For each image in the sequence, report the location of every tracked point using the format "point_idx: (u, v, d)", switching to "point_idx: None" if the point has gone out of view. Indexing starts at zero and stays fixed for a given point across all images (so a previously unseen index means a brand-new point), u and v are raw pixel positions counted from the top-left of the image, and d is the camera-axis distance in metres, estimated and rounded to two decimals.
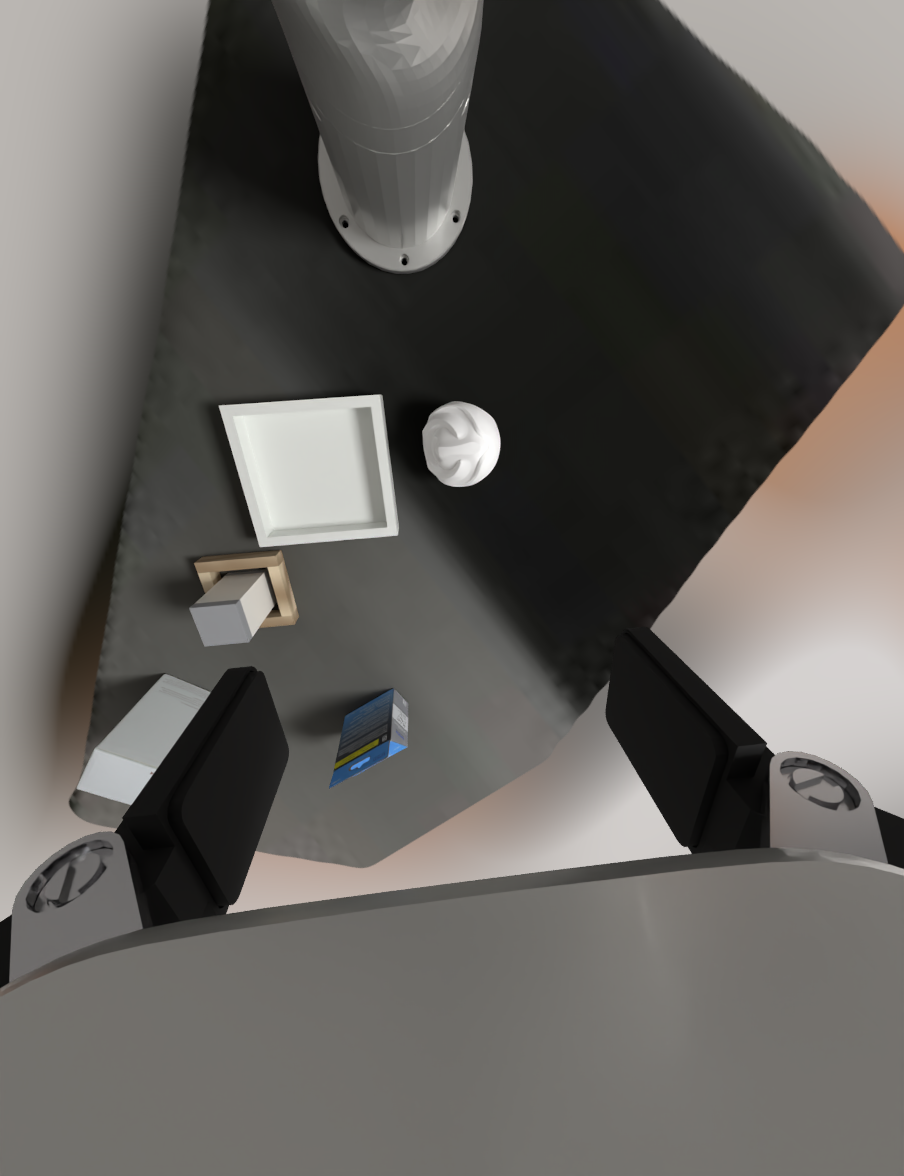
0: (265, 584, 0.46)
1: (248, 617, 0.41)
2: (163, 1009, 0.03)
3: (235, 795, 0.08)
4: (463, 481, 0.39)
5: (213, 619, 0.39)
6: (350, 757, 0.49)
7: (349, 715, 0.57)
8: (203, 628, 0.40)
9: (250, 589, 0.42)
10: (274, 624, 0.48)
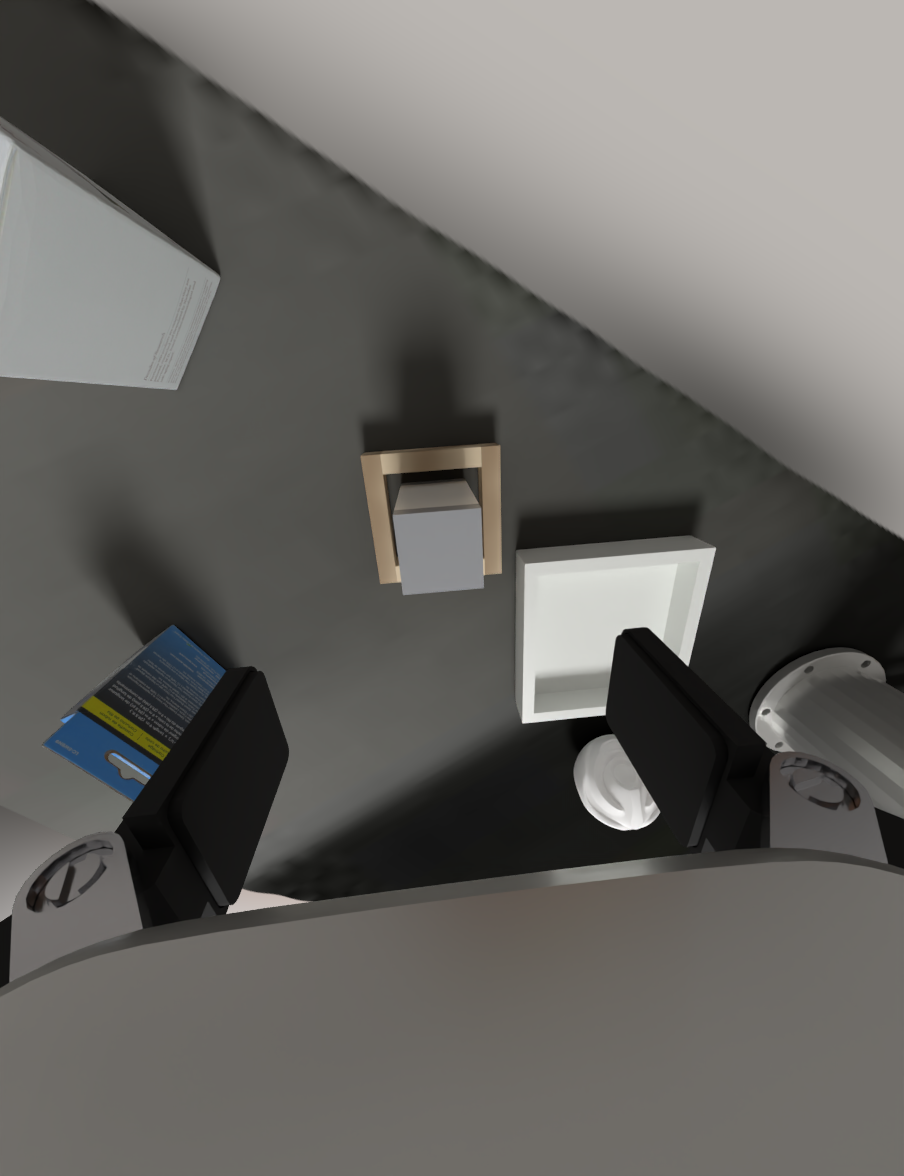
0: None
1: None
2: (163, 1009, 0.03)
3: (235, 795, 0.08)
4: (589, 798, 0.35)
5: (454, 545, 0.21)
6: (124, 726, 0.24)
7: (179, 636, 0.31)
8: (435, 522, 0.20)
9: None
10: (378, 553, 0.28)
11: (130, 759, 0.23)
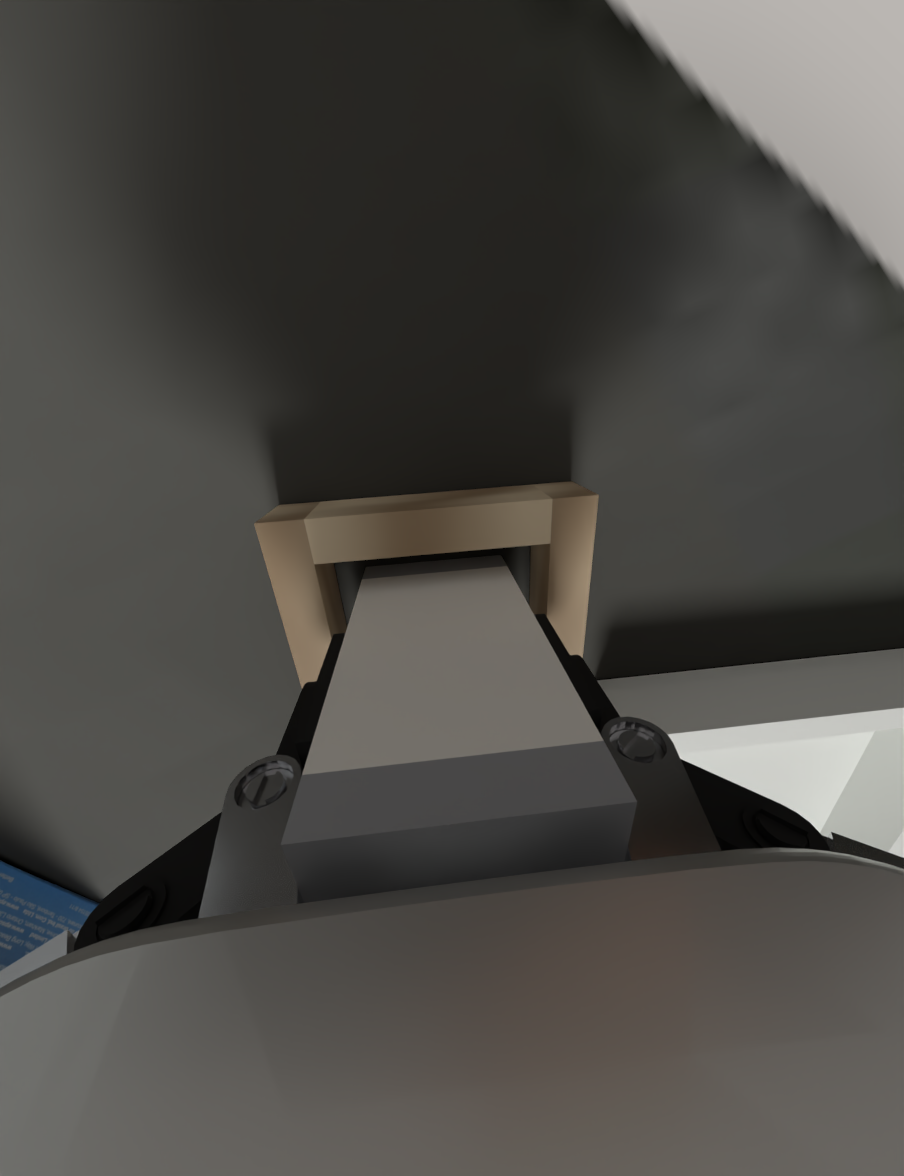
0: None
1: None
2: (163, 1009, 0.03)
3: None
4: None
5: None
6: None
7: None
8: (454, 852, 0.05)
9: None
10: None
11: None
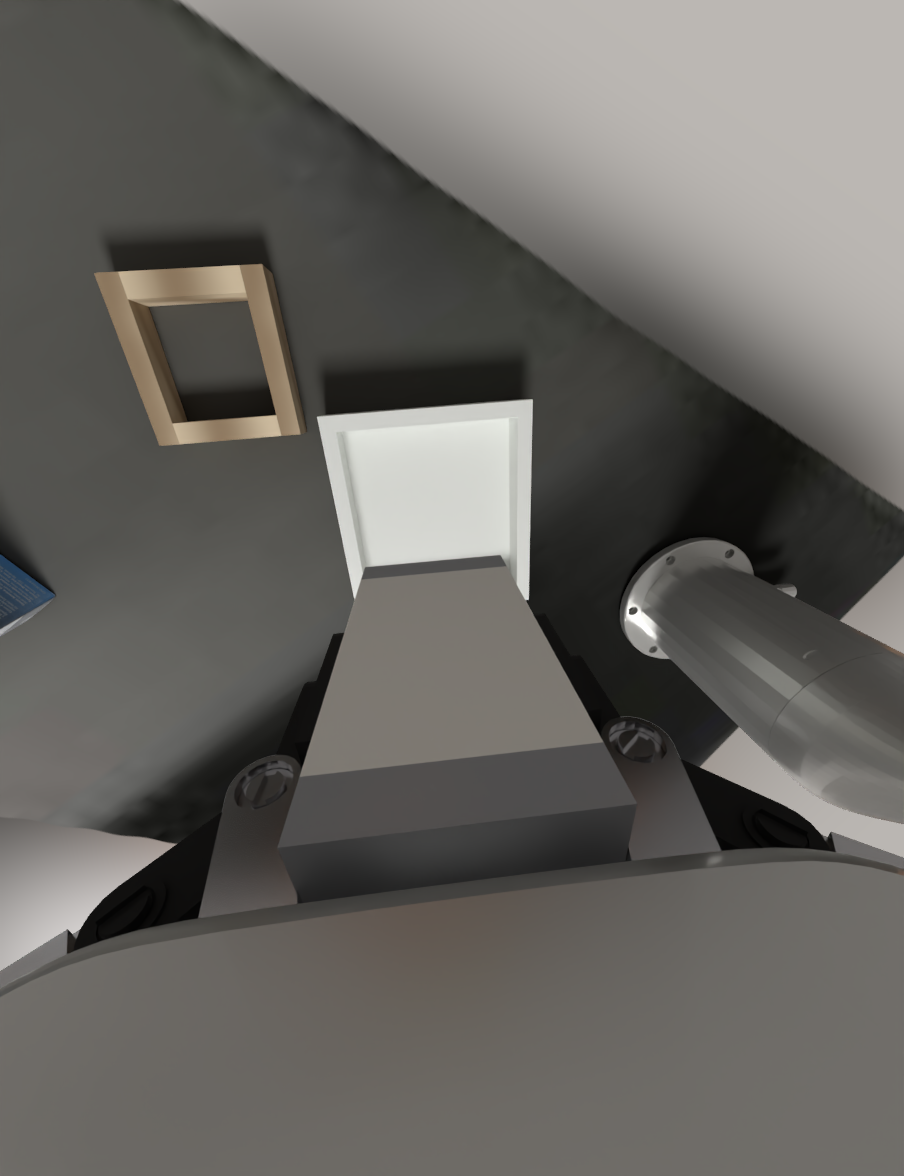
0: None
1: None
2: (163, 1009, 0.03)
3: None
4: None
5: None
6: None
7: None
8: (452, 855, 0.05)
9: None
10: (148, 406, 0.24)
11: None
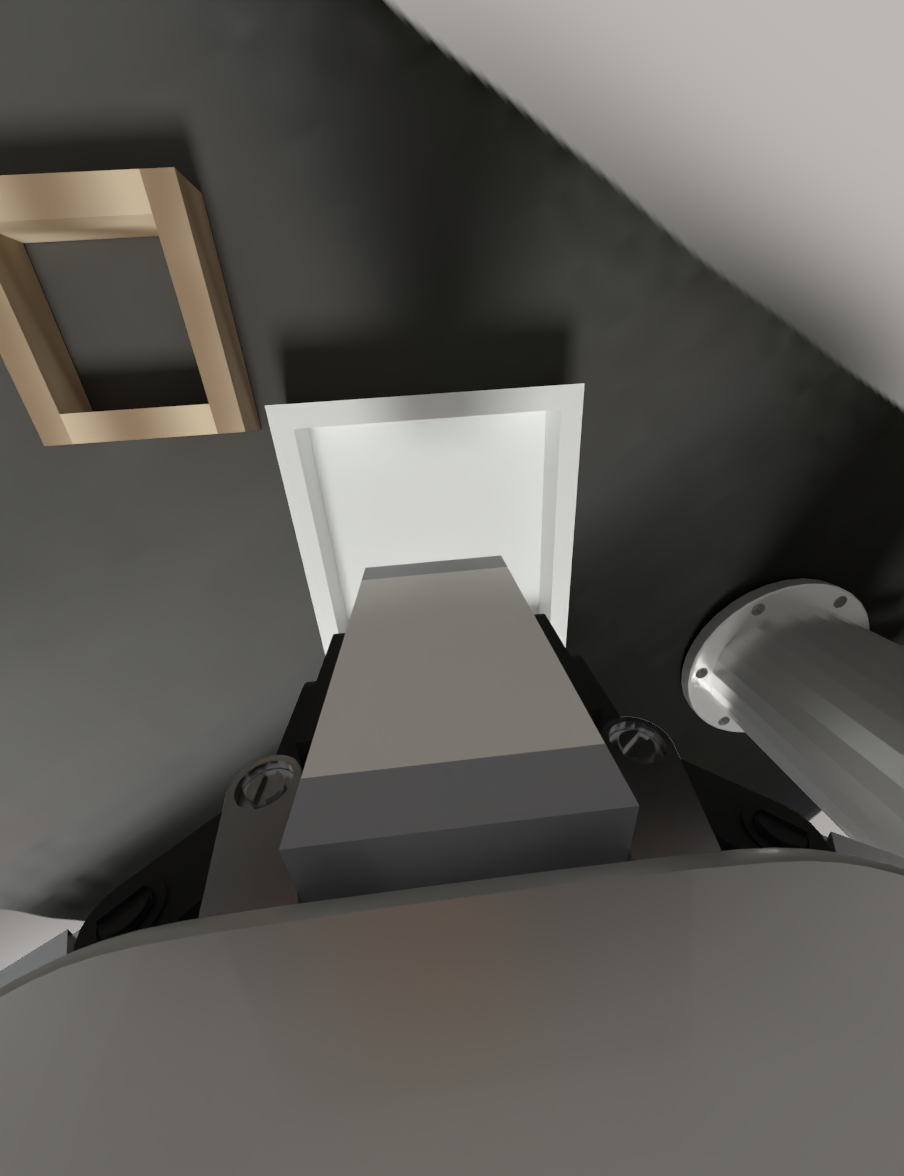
0: None
1: None
2: (163, 1009, 0.03)
3: None
4: None
5: None
6: None
7: None
8: (454, 856, 0.05)
9: None
10: (21, 388, 0.17)
11: None
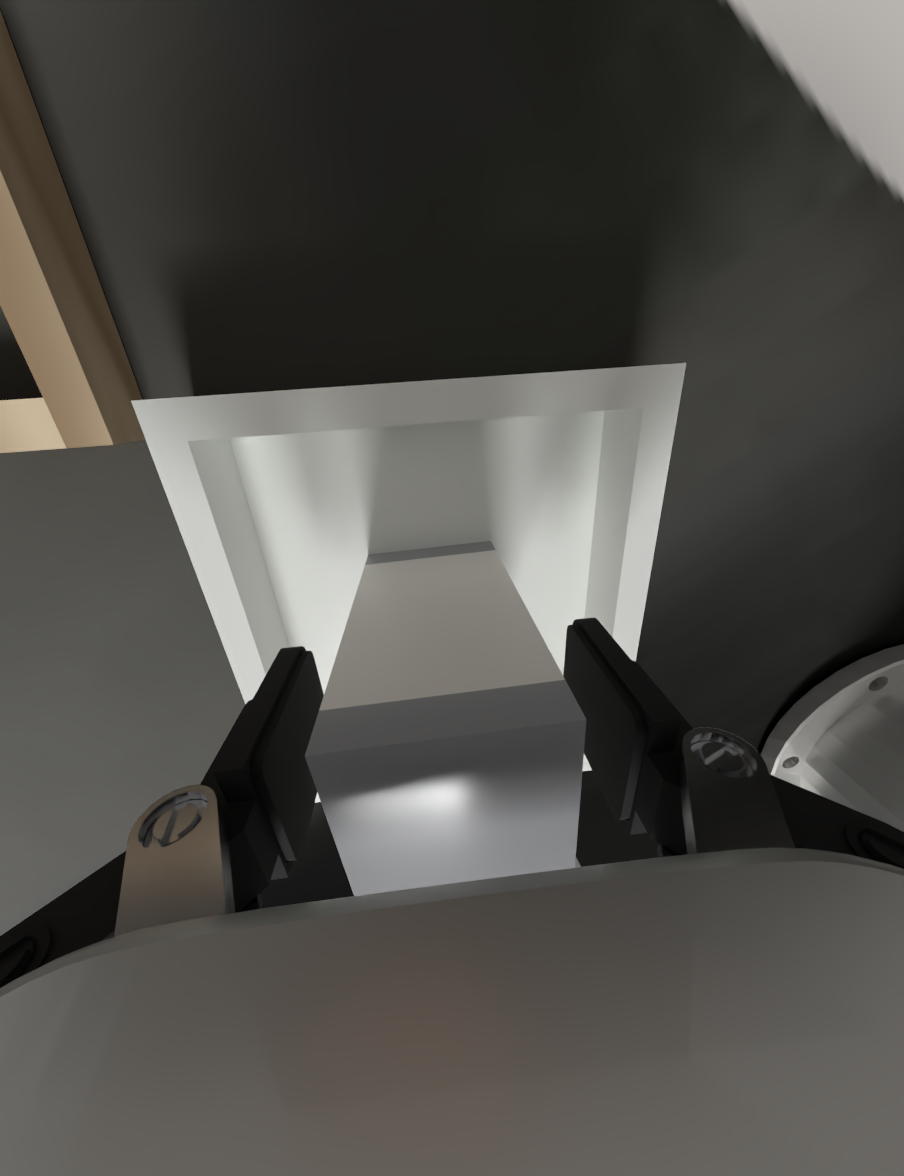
0: None
1: None
2: (163, 1009, 0.03)
3: (296, 761, 0.09)
4: None
5: (500, 807, 0.07)
6: None
7: None
8: (442, 764, 0.06)
9: None
10: None
11: None
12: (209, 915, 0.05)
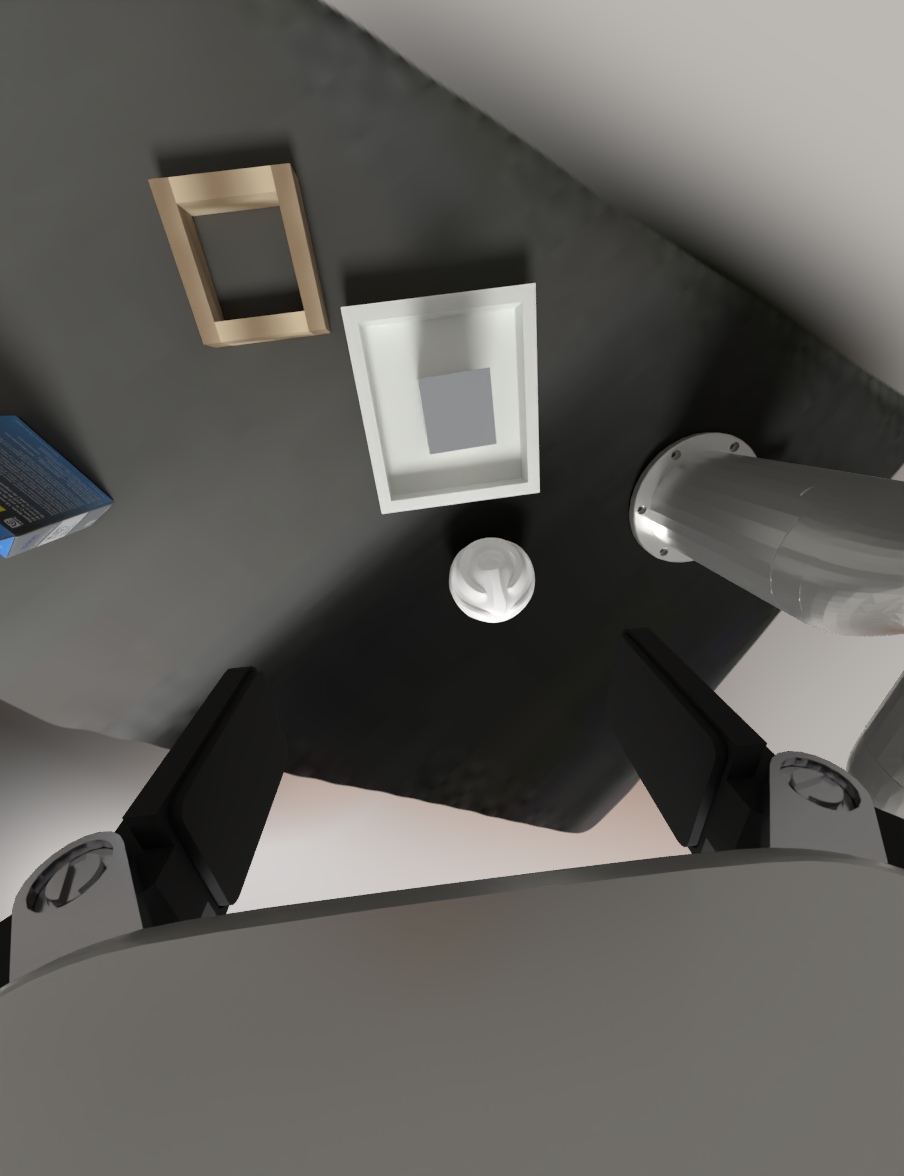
0: None
1: None
2: (163, 1009, 0.03)
3: (235, 795, 0.08)
4: (458, 591, 0.35)
5: (470, 404, 0.25)
6: None
7: (21, 425, 0.31)
8: (452, 383, 0.24)
9: None
10: (193, 305, 0.28)
11: None
12: None
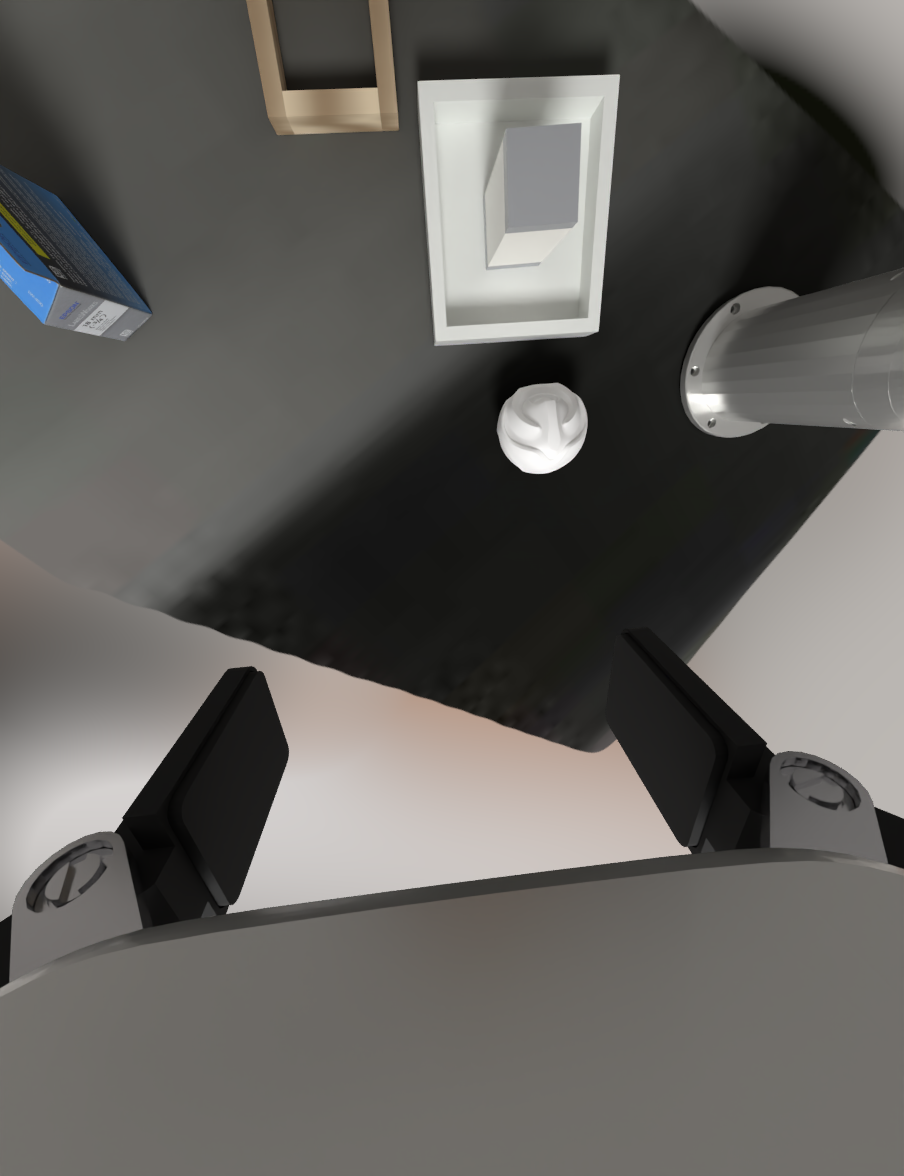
0: (526, 261, 0.32)
1: (535, 233, 0.26)
2: (163, 1009, 0.03)
3: (235, 795, 0.08)
4: (509, 432, 0.34)
5: (556, 167, 0.24)
6: None
7: (62, 205, 0.29)
8: (541, 139, 0.23)
9: (556, 243, 0.29)
10: (261, 68, 0.26)
11: None
12: None
